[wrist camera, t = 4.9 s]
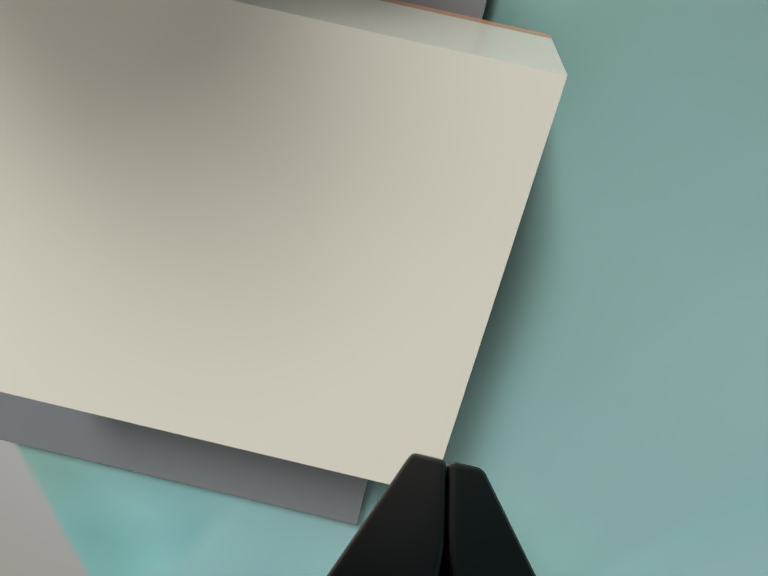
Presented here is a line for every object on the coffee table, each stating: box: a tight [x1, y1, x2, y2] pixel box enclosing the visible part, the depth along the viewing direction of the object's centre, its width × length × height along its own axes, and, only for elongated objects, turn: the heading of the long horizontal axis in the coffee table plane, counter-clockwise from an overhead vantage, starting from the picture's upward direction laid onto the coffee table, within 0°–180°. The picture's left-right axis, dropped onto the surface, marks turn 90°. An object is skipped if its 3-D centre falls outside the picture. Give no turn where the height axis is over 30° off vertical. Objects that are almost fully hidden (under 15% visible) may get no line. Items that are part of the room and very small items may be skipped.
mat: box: [0, 0, 487, 525], centre depth 14 cm, size 10×18×1 cm, turn 169°
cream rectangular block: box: [0, 0, 567, 485], centre depth 12 cm, size 3×8×9 cm
